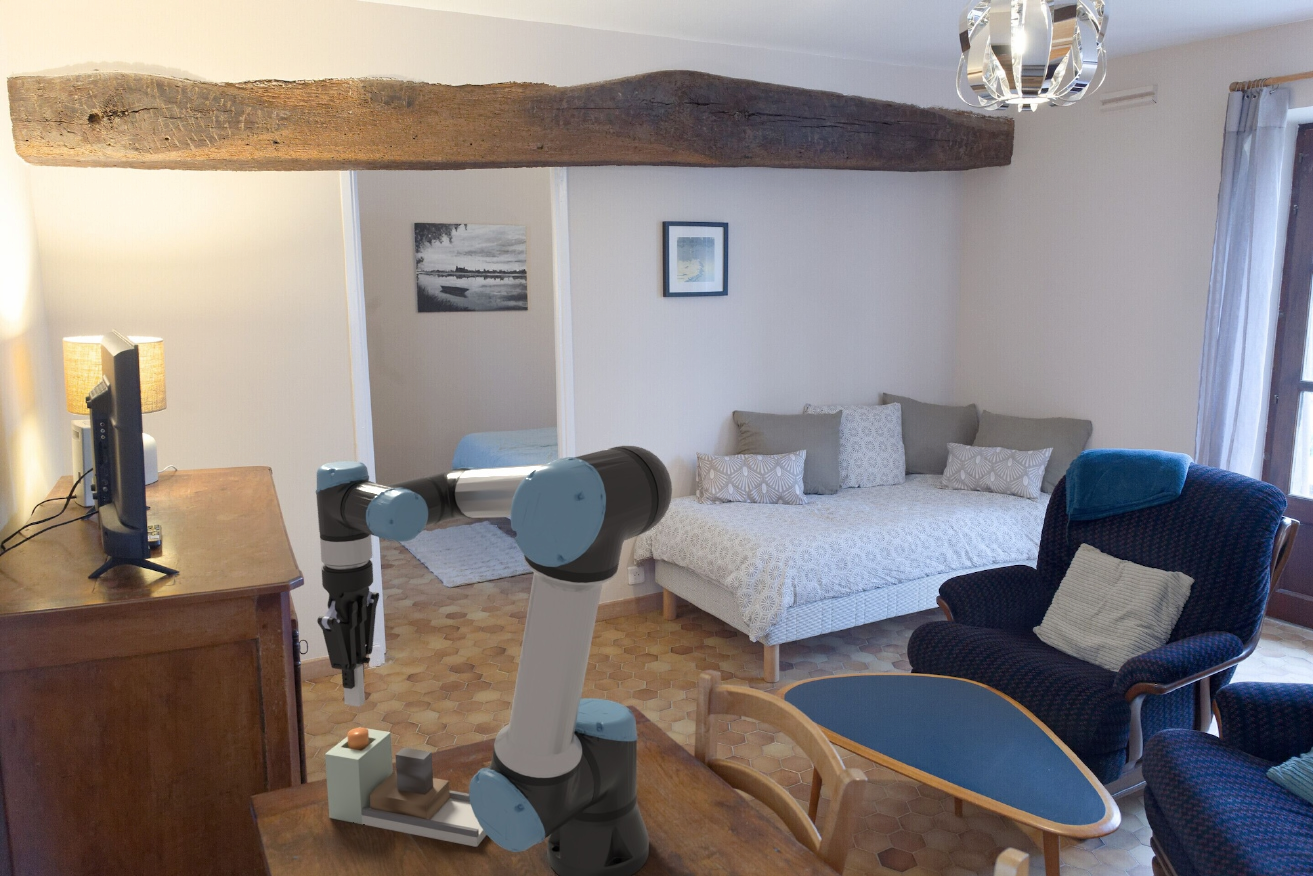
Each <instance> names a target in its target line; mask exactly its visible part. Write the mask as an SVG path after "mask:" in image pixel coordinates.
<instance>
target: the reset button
mask: <svg viewBox="0 0 1313 876" xmlns="http://www.w3.org/2000/svg"><path fill="white" fill-rule="evenodd" d="M366 728H367V727H361V728H359V727H355V728H353V729H350V730H349V731H348V732H347V736H348V749H354V750H360V751H362V750H364V749H365V748H366V747H367V746H368V745H369V733H368V729H369V728H367V729H366ZM347 736H346V737H347Z"/></svg>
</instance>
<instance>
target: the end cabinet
mask: <svg viewBox="0 0 1313 876" xmlns="http://www.w3.org/2000/svg"><path fill="white" fill-rule="evenodd" d="M358 728H362V727H361V726H359V727H358ZM365 728H366V729H368V733H369V745H368V746H367V747H366V748H365V749H364V750H362V751H360V750H354V749H348V736H346V737H345V738H343V739H342V740H341V741H339V742H338V743H337V744H336V745H335V746H333V747H332V748H330V749H329V750H328V751H327V752H326V753H324V759H325V760H324V761H325V772H326V789H327V800H328V802H327V803H328V814H329V815H328V816H329V819H334V820H338V821H339V820H340V821H342V822H343V821H344V822H349V823H353V822H354V823H355V824H359V825H363V824H362V809H363V808H364V807H365V808H370V793H371V792H372V791H373V790H375V789H376V788H377V787H378V786H379V785H380V784H381V783H382V782H383V781H384V780H385V779H387V778H388V777H389V776H390V775H391V774H392V773H393V772H394V770H393V769H394V767H393V751H392V750H393V749H392V734H391V732H390V731H386V730H385V731H384V730H378V729H372V728H367V727H365Z"/></svg>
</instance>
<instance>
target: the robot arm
mask: <svg viewBox="0 0 1313 876" xmlns="http://www.w3.org/2000/svg"><path fill="white" fill-rule="evenodd" d="M316 470H317V471H316V489H315V494H316V506H317V518H318V532H319V540H320V560H321V563H323V564H322V565H321V582H322V583H321V584H322V588H323V589H324V590H325V591H326V592H327V593H328V600H327V609H328V610H327V611H326V613H325V615H324V616H323V615H321V616H320V615H319V617H318V618H317V620H316V622H317V624H318V626H319V627H320V629H321V630H322V634H323V638H324V642H325V646H326V650H327V653H328V658H329V662H330V663H329V664H330V666H331V669H335V670H341V680H342V688H343V696H344V705H347V706H352V707H359V708H360V707H362V706H363V705H364V704H366V699H365V696H366V694H365V664H369V663H370V661H371V658H370V657H367V656H368V655H371V654H372V652H373V646H374V635H375V626H376V625H375V623H376V615H377V614H376V613H377V606H378V603H379V598H380V593H379V592H376V591H371V590H370V587H371V586H372V584H373V583H374V569H373V568H374V567H373V566H374V565H373V561H372V560H371V559H372V558H373V545H372V544H373V543H372V542H373V541H372V536H375V537H377V538H379V539H382V540H384V541H385V540H387V541H389V542H391V541H392V542H394V541H395V542H399V543H402V542H404V543H405V542H409V541H412V540H414V539H415V538H417V536H418V535H419V534H420V533H422V532H423V531H424V529H425V528H427V527H430V526H433V525H436V524H440V523H443V522H448V521H453V520H457V519H476V518H477V519H478V518H482V519H483V518H485V519H486V518H507V517H508V518H510V527H511V530H512V531H515V533H516V536H515V537H514V541H515V543H516V544H517V545H516V546H518V548H519V550H520V551H521V552H522V553H523V559H524V563H525V564H526V566H527V567H528V568H529V569H530V570H531V571H532V572H533V577H532V581H531V588H530V593H529V601H528V606H527V613H526V618H525V619H526V620H525V625H524V630H523V631H524V632H523V638H522V643H521V650H520V655H519V662H518V669H517V675H516V681H515V687H514V692H513V693H514V694H513V700H512V706H511V712H510V717H509V718H510V719H509V723H508V724H506V725H505V726H503V727H502V728H501V729H500V730H499V731H498V733H497V734H496V737H495V739H494V745H493V750H492V756H491V761H490V764H489V765H488V766H486V767H482V768H480V769H479V770H478V771H477V773H475V774H474V775H473V777H471V780H470V782H469V787H468V794H469V798H470V803H471V807H472V810H473V813H474V815H475V817H476V818H477V820H478V822H479V824H480V826H481V827H482V829H483V830H484V832H485V833H486V834H487V835H486V836H487V837H489V839H490V840H492V842H494V843H495V845H498V846H499V847H501V848H502V849H504V850H505V851H509V852H513V853H514V852H515V853H519V852H525V851H527V850H529V849H530V848H532V847H534V846H535V845H536V844H537V845H538V844H541V843H543V842H544V841H545V839H546V838H547V841H546V842H547V843H546V851H547V852H546V853H547V862H548V864H549V865H550V867H551V868H552V870H553V871H554V872H555V873H556V874H557V875H559V876H633V875H634V874H636V873H637V872H638V871H640V869H641V868H643V867H644V865H645V863H646V862H647V861H648V858H649V854H650V844H649V843H650V842H649V841H650V838H649V833H648V830H647V829H648V828H647V827H646V824H645V822H644V819H643V816H642V814H641V813H642V812H641V810H640V807H639V804H638V793H637V791H638V789H637V788H638V787H637V786H638V785H637V784H638V783H637V782H638V777H637V776H638V771H637V769H638V765H637V764H638V763H637V762H638V751H637V750H638V739H639V737H638V736H639V735H638V734H637V722H636V721H637V720H636V718H635V714H634V713H633V711H632V710H631V709H630V708H629V707H627V706H626V705H623V704H622V703H619V702H617V701H614V700H608V699H603V698H593V697H592V698H591V697H589V698H582V694H583V689H584V683H585V678H586V673H587V666H588V663H589V657H590V652H591V646H592V642H593V641H592V640H593V637H594V636H593V635H594V630H595V626H596V620H597V619H596V618H597V614H598V610H599V604H600V599H601V592H602V589H603V584H605V583H607V582H608V581H610V580H612V579H613V578H614V577H615V576H616V575H617V573H618V569H619V566H620V565H619V564H620V559H621V553H622V548H623V545H624V542H625V541H628V540H630V539H633V538H635V537H638V536H640V535H643V534H645V533H647V532H649V531H650V530H652V529H653V528H654V527H656V526H657V525H658V524H659V523H660V522H661V521H662V520H663V519H664V517H665V515H666V514H667V511H668V510H669V509H670V505H671V501H672V496H673V495H672V494H673V485H672V480H671V476H670V472H669V471H668V469H667V466H666V465H665V463H664V462H663V460H661V459H660V458H659V457H658V456H657V455H656V454H654V453H653V452H652V451H650V450H648V449H646V448H643V447H641V446H636V445H619V446H613V447H610V448H607V449H602V450H599V451H593V452H590V453H586V454H583V455H578V456H574V457H573V456H572V457H562V458H558V459H555V460H552V461H550V462H549V463H536V464H525V465H512V466H511V465H510V466H498V467H497V466H496V467H485V468H478V467H475V466H468V467H467V466H466V467H459V468H453V469H452V470H449V471H444V472H439V473H436V474H431V475H427V476H422V477H416V478H412V479H407V480H403V481H398V482H393V483H388V484H383V483H376V482H373V481H370V475H369V471H368V467H367V466H366V464H365V463H363V462H361V461H353V460H349V461H347V460H346V461H345V460H343V461H342V460H341V461H334V462H328V463H324V464H323V465H321V466H319V467H318V469H316Z"/></svg>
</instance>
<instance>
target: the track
mask: <svg viewBox="0 0 1313 876" xmlns="http://www.w3.org/2000/svg"><path fill="white" fill-rule="evenodd" d="M449 791H450V798H449V799H448V800H447V801H446V802H445V803H444V805H443V806H442V807H441V808H440V809H439V810H438V811H437V812H436V813H435V814H434V815H433V816H432V817H431V818H430V820H428V819H422V818H417V817H412V816H407V815H402V814H396V813H391V812H386V811H381V810H375V809H371V807H370V808H365V807H364V808H363V809H362V824H361V825H363V824H365V825H364V826H367V827H368V826H369V827H373V828H378V829H379V828H380V829H383V830H389V831H393V832H399V833H404V834H409V835H415V836H420V837H426V838H430V839H435V840H441V841H445V842H450V843H456V844H460V845H465V846H471V847H476V848H477V847H478V846H480V844H481V842H483V840H484V839H485V838H486V836H488V835H487V834H486V833H485V832H484V830H483V829H482V827H481V826H480V824H479V822H478V820H477V818H476V817H475V815H474V813H473V810H472V807H471V803H470V798H469V793H467V792H462V791H456V790H451V789H449Z"/></svg>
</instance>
